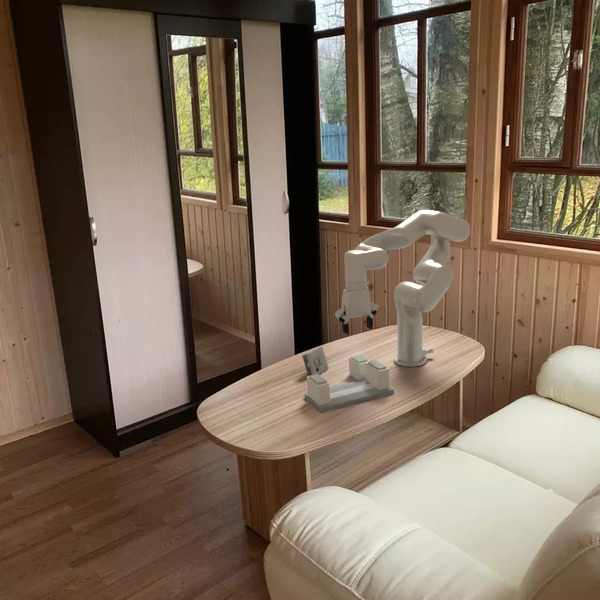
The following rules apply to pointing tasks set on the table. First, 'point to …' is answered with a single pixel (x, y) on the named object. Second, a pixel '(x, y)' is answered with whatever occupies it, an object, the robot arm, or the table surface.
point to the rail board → (350, 394)
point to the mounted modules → (374, 375)
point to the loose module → (357, 367)
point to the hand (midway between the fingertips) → (357, 330)
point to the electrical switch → (315, 361)
